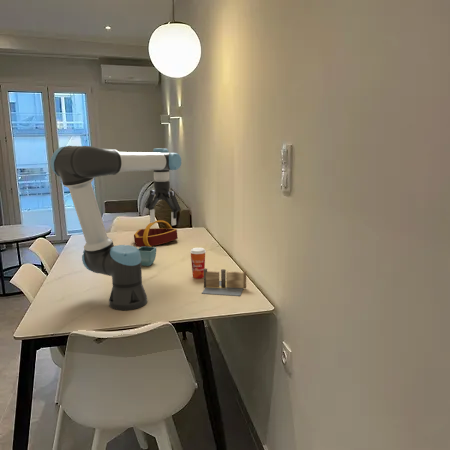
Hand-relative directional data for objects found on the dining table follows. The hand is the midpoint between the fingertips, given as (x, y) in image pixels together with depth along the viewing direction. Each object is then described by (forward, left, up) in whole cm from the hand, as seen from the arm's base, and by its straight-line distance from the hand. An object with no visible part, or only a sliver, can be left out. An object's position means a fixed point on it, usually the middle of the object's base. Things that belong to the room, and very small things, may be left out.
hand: (163, 223), depth 195 cm
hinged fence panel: (-16, -39, -25) cm, 49 cm away
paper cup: (-3, -19, -26) cm, 32 cm away
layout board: (-16, -34, -25) cm, 45 cm away
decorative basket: (+63, +27, -26) cm, 73 cm away
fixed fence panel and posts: (-16, -29, -25) cm, 42 cm away
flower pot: (+12, +14, -26) cm, 32 cm away
